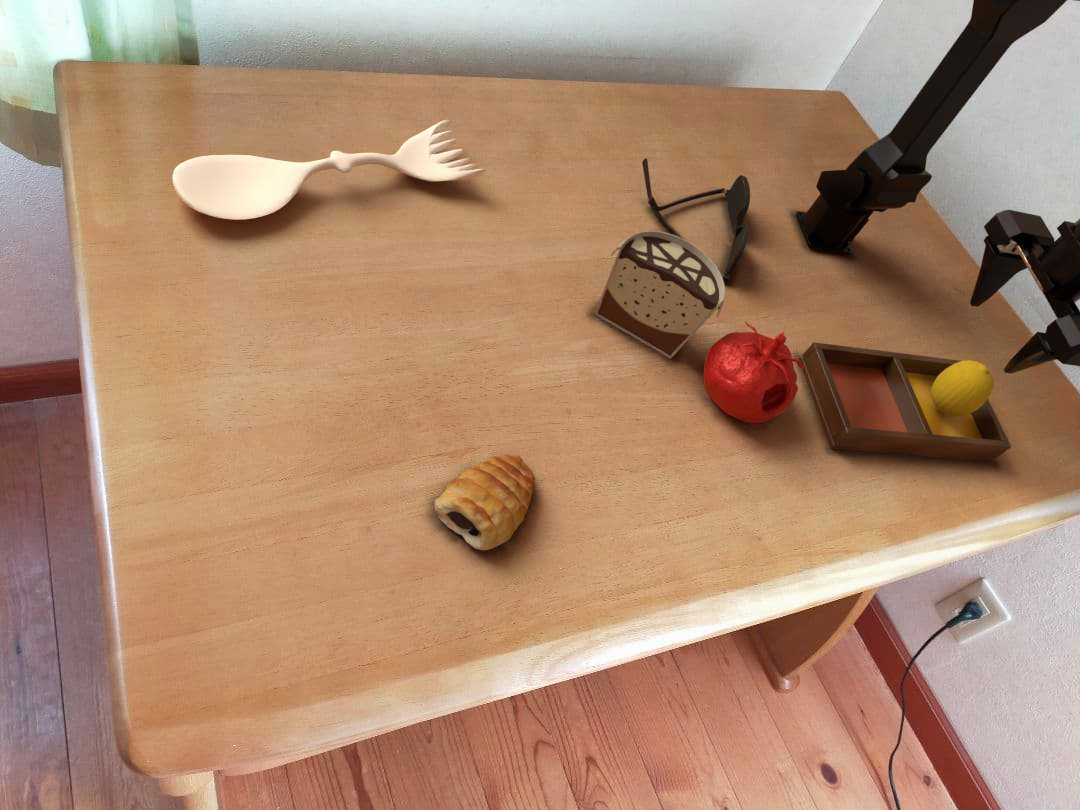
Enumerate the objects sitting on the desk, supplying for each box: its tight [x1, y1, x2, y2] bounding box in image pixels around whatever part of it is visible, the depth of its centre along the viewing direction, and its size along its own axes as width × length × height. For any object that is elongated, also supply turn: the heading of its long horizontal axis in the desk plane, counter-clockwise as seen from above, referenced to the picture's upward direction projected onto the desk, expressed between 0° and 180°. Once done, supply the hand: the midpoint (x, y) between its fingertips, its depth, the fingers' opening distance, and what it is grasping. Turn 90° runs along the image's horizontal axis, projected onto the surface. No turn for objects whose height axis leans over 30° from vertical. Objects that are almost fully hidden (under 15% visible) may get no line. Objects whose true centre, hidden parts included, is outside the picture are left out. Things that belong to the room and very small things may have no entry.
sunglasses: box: [641, 157, 751, 283], centre depth 106 cm, size 17×14×5 cm
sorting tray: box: [798, 341, 1012, 462], centre depth 99 cm, size 22×12×3 cm, turn 97°
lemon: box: [931, 359, 995, 416], centre depth 98 cm, size 6×6×8 cm
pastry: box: [433, 454, 536, 551], centre depth 74 cm, size 9×7×4 cm
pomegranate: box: [703, 320, 804, 424], centre depth 90 cm, size 10×10×9 cm
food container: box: [594, 230, 726, 360], centre depth 91 cm, size 12×6×10 cm, turn 65°
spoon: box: [171, 119, 486, 221], centre depth 91 cm, size 9×32×4 cm, turn 122°
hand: (990, 337), depth 95 cm, fingers open, 9 cm apart
